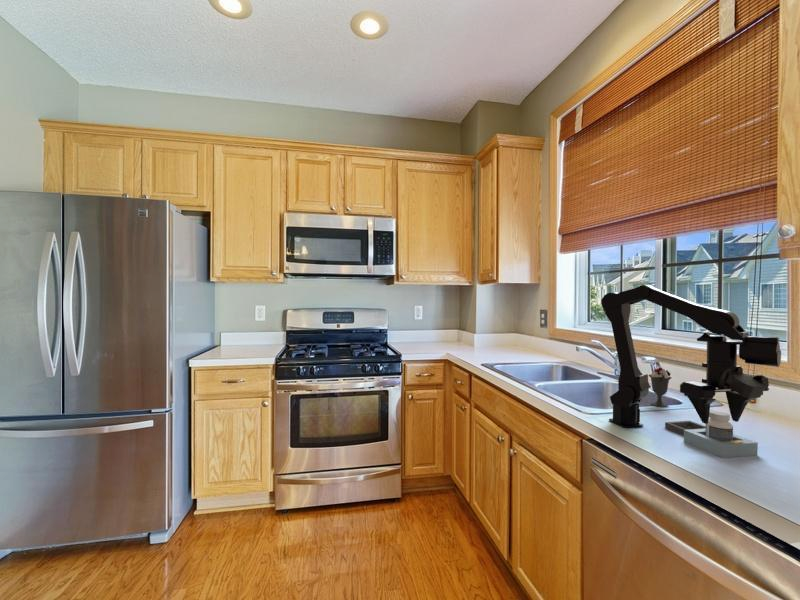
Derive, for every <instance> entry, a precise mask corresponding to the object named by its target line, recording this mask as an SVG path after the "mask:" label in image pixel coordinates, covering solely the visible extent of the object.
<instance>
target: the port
mask: <svg viewBox="0 0 800 600" xmlns="http://www.w3.org/2000/svg"><path fill="white" fill-rule="evenodd" d="M683 442H684V443H687V444H689V445H691V446H695V447H696V448H698V449H701V450H704V451H706V452H708V453H711V454H713V455H715V456H717V457H720V458H722V459H728V458H738V457H739V458H741V457H747V456H748V457H749V456H750V457H751V456H758V453H759V452H758V450H759V446H758V445H759V444H758V443H759V442H757V441H754V440H752V439H748V438H747V437H743V436H742V435H741V436H740V435H738V434H735V433H733V441H727V442H721V441H718V440H715V439H713V438H710V437H708V436H705V428H704V429H693V428H691V429H687V430H684V435H683Z"/></svg>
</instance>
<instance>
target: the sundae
mask: <svg viewBox="0 0 800 600" xmlns="http://www.w3.org/2000/svg"><path fill="white" fill-rule="evenodd" d="M654 364H655V368H654V370H653V371H652V372H651V374H648V378H650V382H651V388H652V391H653V393H654V394H655V395H656V396H657V400H656V401H654V402H651V403H650V404H651V406H654V407H658V408H668V407H669V405H668V404H666V403H664V402H663V399H662V396H664V395H665V394H667V392H668V387H669V382H670V380H672V378H673V377H672V376H671V372H670V371H669V370H668V369H666V370H665V369H663V367H661V366H659V364H658V362H655V363H654ZM657 366H658V368H657Z"/></svg>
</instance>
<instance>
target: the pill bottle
mask: <svg viewBox="0 0 800 600" xmlns="http://www.w3.org/2000/svg"><path fill="white" fill-rule="evenodd" d="M730 420H731V414H730V413H728V412H725V411H722V410H721V411H719V410H710V412H709V420H708V424H705V426H706V427H705V436H708V437H710V438H713V439H715V440H718V441H721V442H727V441H733V434H734V425H733V424H732V423H731V422H730Z"/></svg>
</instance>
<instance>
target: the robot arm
mask: <svg viewBox="0 0 800 600" xmlns="http://www.w3.org/2000/svg"><path fill="white" fill-rule="evenodd" d="M645 300H646V301H648V302H651V303H652V304H655V305H657V306H660V307H663V308H665V309H667V310H670V311H672V312H674V313H676V314H679V315H682V316H684V317H686V318H688V319H690V320H691V321H693V322H695V323H696V324H697V325H699V326H700V327H701V328H703V329H705V330H707V331H706V332H704V333H703V334H702V335H701V336H699V337H698V338H696V341H697V342H705V343H706V362H702V363H701V368H705V369H706V372H705V374H706V376H705V377H704V378H701V382H698V381H683V382H681V383H680V384H679V393H681V394H683V396H685V397H687V398H688V400H689V402H690V403H691V404H692V406H693V408H694V409H695V411H696V413H697V415H698V417H699V419H700V421H701V422H702V424H704V425H706V424H708V420H709V419H710V417H709V412H710V411H711V404H712V403H713V402H716V401H717V399H716V398H714V397H715V396H716V393H725V396H726V397H725V398H726V400H727V401H726V402H727V404H728V409H729V415H730V418H731V420H732V421H733V422H737V423H738V422H739V421H740V419H741V417H742V415H743V413H744V411H745V408H746V407H747V405H748V404H749V403H750V402H751V401H753V400H756V399H758V398H761V397H762V396H763V395H764V392H768V391H770V388H769V387H770V383H769V377H767V376H764V375H763V374H758V375H757V374H756V375H754V376H752V375H747V374H744V369H743V368H742V366H740V365H738V364H737V363H738V360H737V359H738V357H739V359H740V360H741V361H744V362H745V364H750V365H758V366H765V367H766V366H767V367H776V368H777V367H778V368H780V365H781V361H782V350H781V345H780V338H779V337H778V336H767V337H765V336H755V335H754V336H751V335H750V334H749V333H748V332H747V331H746V330H745V329H744V328H743V326H741V325H740V319H739V317H738V315H737V314H735V312H732V311H730V310H726V309H720V308H716V307H711V306H707V305H701V304H697V303H695V302H693V301H690V300H687V299H684V298H682V297H680V296H678V295H677V296H676V295H674V294H671V293H669V292H666V291H663V290H661V289H658V288H656V287H654V286H653V285H650V284H641V285H639V286H637V287H633V288H631V289H630V288H629V289H626V290H623V291H620V292H608V293H606V294H604V295H603V297H602V298H601V302H600V304H601V307H602V309H603V312H604V315H605V316H606V318H607V320H608V321H609V322H610V324H611V329H612V333H613V340H614V344H615V348H616V349H615V350H616V353H617V359H618V364H619V369H620V370H619V371H620V372H619V376H618V384H617V385H618V386H617V387H618V389H617V391H616V392H614V393H613V394H611V395H610V396H609V399H610V402H611V404H612V418H608V421H610V422H611V423H614V424H616V425H618V426H620V427H623V428H624V429H626V428H638V427H641V428H642V427H644V424H643V423H641V418H640V417H641V408H640V404H639V403H641V401H642V399H644V398H646V397H647V396H648V394H649V392H650V391H649V390H650V388H652V385H650V383H649V374H648V373H644V374H643V373H642V372H641V370H640V368H639V366H638V361H637V356H636V352H635V345H634V342H633V341H634V340H633V338H632V337H633V336H632V331H631V327H630V321H629V320H630V316H631V315H630V314H631V305H634V304H637V303H640V302H643V301H645ZM709 332H711V333H712V334H715V335H712V334H710V333H709ZM729 339H730V340H729ZM738 345H739V346H738Z"/></svg>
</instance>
